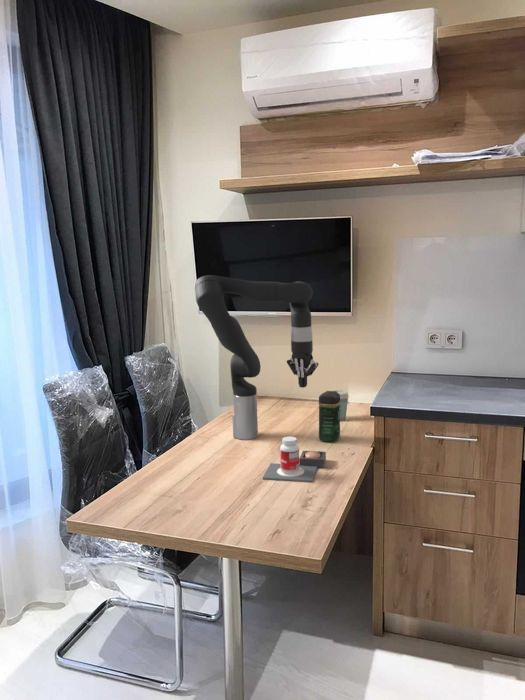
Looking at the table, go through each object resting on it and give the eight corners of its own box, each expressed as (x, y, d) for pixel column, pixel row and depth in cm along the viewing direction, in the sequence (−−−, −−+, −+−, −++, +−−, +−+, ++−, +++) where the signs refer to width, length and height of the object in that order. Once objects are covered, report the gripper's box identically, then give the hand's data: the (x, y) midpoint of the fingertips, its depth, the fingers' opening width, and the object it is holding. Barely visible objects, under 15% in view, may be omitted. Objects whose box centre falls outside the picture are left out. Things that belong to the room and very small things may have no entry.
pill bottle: (278, 468, 195) (277, 436, 193) (295, 466, 196) (295, 434, 194) (284, 475, 189) (283, 442, 187) (301, 473, 190) (301, 440, 188)
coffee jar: (337, 443, 220) (337, 395, 217) (317, 442, 223) (316, 394, 220) (342, 436, 229) (342, 389, 226) (322, 434, 232) (321, 388, 229)
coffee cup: (352, 418, 252) (352, 391, 250) (341, 423, 246) (340, 395, 244) (336, 415, 258) (336, 389, 256) (324, 419, 252) (324, 392, 250)
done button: (304, 461, 199) (304, 456, 198) (306, 456, 204) (306, 451, 203) (319, 462, 197) (319, 457, 197) (321, 457, 202) (321, 451, 202)
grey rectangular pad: (262, 479, 188) (262, 477, 188) (270, 464, 200) (270, 462, 200) (312, 482, 184) (312, 480, 184) (317, 467, 197) (317, 465, 197)
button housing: (299, 466, 198) (299, 458, 197) (303, 458, 205) (302, 450, 205) (323, 468, 196) (323, 459, 196) (325, 459, 204) (325, 451, 203)
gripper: (280, 339, 206) (281, 386, 209) (310, 342, 197) (311, 392, 201) (293, 336, 212) (294, 382, 215) (323, 338, 203) (324, 387, 206)
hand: (303, 387), depth 208 cm, fingers closed
